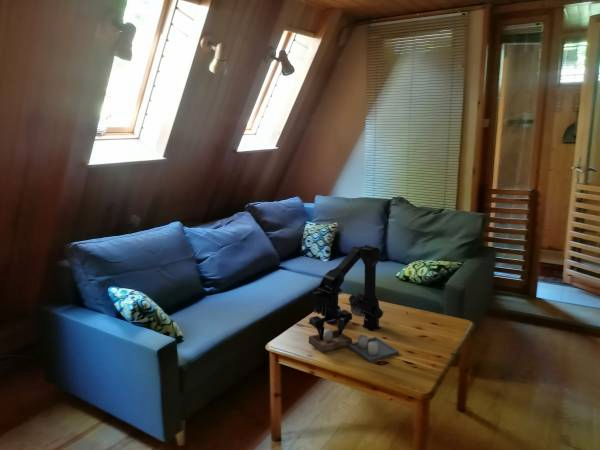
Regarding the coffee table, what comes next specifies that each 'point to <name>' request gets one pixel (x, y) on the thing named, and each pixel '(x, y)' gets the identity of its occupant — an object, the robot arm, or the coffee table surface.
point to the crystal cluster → (356, 304)
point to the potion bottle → (334, 320)
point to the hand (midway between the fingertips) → (330, 337)
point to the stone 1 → (327, 335)
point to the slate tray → (383, 350)
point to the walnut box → (336, 343)
